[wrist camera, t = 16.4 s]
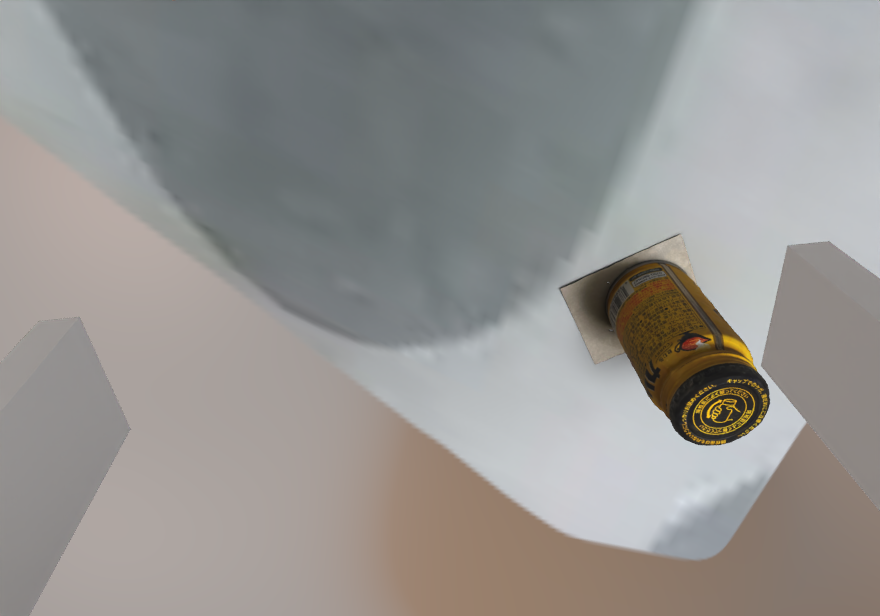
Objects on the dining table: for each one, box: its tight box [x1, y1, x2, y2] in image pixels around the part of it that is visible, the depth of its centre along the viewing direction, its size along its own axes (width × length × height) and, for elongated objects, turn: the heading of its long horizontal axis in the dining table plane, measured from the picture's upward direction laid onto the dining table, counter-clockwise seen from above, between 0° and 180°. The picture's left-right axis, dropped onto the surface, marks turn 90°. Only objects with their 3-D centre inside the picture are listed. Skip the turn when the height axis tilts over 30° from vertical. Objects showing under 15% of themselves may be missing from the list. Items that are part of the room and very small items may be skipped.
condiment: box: [560, 234, 770, 445], centre depth 38 cm, size 7×8×12 cm
